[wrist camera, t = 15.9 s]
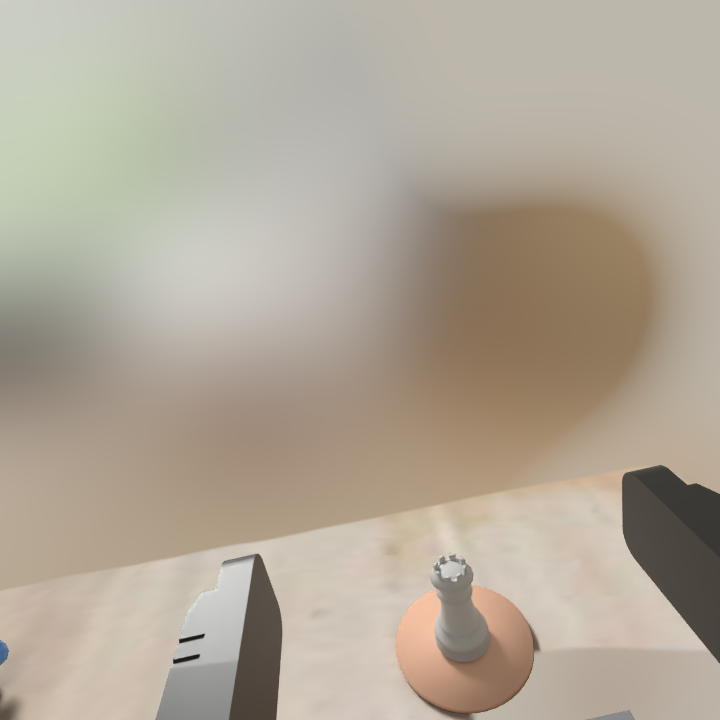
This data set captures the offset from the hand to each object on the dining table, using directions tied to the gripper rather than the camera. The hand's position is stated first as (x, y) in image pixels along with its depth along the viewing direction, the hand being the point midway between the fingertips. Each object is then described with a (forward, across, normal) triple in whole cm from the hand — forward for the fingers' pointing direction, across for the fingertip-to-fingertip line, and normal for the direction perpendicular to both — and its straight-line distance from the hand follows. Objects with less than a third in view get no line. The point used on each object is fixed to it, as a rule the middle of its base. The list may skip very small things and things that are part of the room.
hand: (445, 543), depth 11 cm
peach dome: (+21, -2, +30) cm, 36 cm away
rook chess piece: (+20, -2, +30) cm, 36 cm away
